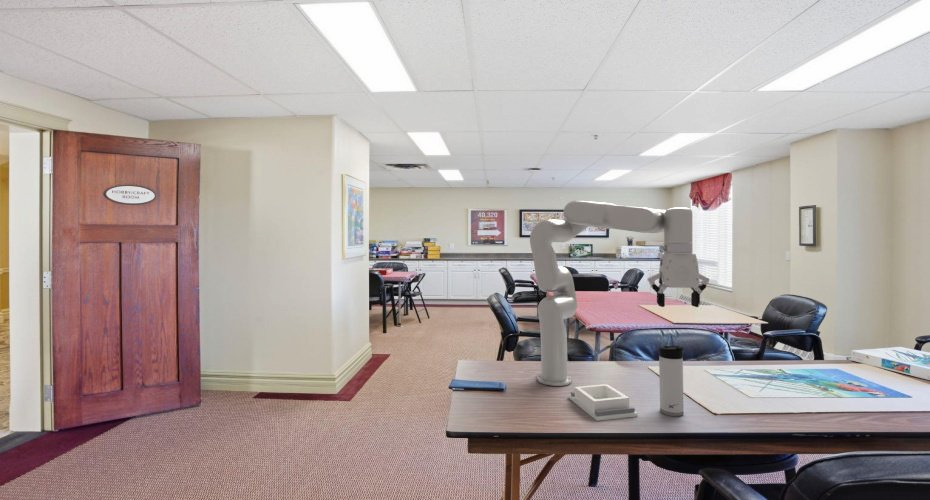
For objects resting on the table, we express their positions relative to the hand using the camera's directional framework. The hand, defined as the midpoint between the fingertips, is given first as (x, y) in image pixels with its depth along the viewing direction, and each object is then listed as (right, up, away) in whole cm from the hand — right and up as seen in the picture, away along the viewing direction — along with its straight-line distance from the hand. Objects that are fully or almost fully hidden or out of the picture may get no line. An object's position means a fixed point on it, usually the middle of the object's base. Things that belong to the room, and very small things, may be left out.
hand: (678, 306), depth 120 cm
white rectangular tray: (-22, -32, +5) cm, 39 cm away
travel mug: (-2, -32, -1) cm, 32 cm away
